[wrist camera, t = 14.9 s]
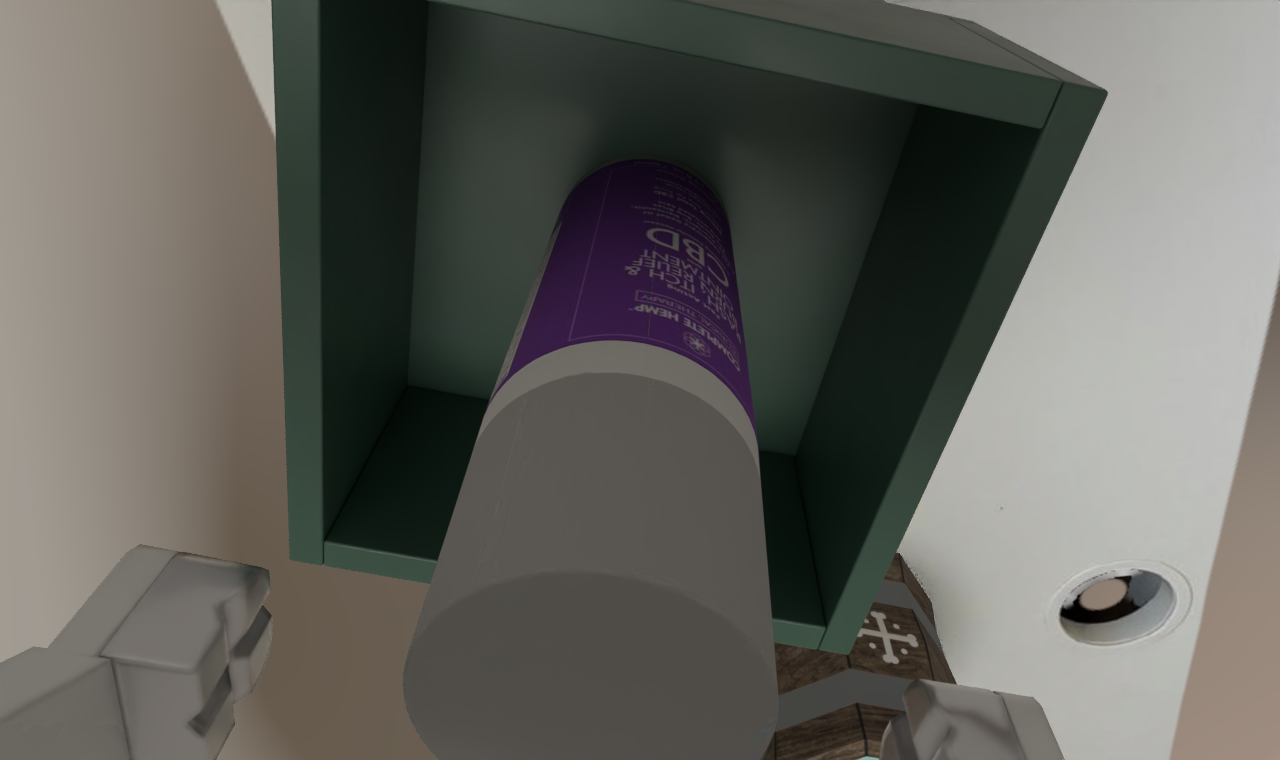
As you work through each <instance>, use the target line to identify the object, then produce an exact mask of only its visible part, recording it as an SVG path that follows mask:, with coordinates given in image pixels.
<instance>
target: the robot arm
mask: <svg viewBox="0 0 1280 760" xmlns="http://www.w3.org/2000/svg"><path fill="white" fill-rule="evenodd" d="M270 590H271V588H270V577H269V570H267V569H265V568H262V567H257V566H252V565H247V564H242V563H237V562H232V561H227V560H222V559H217V558H211V557H207V556H201V555H196V554H191V553H186V552H178V551H172V550H167V549H163V548H157V547H152V546H147V545H142V544H140V545H138V546H137V547H135V548H133V549H131V550H130V551H128V552H127V553H126V554H125V555H124V556H123V557H122V558H121V560H120V561H119V562H118V563H117V565H116V566H115V567H114V568H113V569H112V571H111V572H110V573H109V574H108V575H107V577H106V578H105V579H104V580H103V582H102V583H101V584H100V585H99V586H98V587H97V589H96V590H95V591H94V592H93V593H92V595H91V596H90V597H89V598H88V600H87V601H86V602H85V603H84V604H83V606H82V607H81V608H80V609H79V610H78V612H77V613H76V614H75V615H74V616H73V618H72V619H71V620H70V621H69V622H68V624H67V625H66V626H65V627H64V628H63V630H62V631H61V632H60V633H59V635H58V636H57V637H56V638H55V639H54V641H53V642H52V643H51V644H50V646H49V647H48V648H40V647H32V648H30V649H28V650H26V651H24V652H22V653H20V654H18V655H16V656H14V657H12V658H10V659H8V660H6V661H4V662H2V663H0V760H216V759H217V757H218V755H219V753H220V751H221V749H222V747H223V746H224V744H225V742H226V740H227V738H228V736H229V734H230V732H231V731H232V729H233V727H234V725H235V721H234V710H233V709H234V708H233V704H234V703H236V702H238V701H239V700H241V699H242V698H243V697H245V696H247V695H248V694H250V693H252V691H253V689H254V687H255V685H256V683H257V681H258V679H259V677H260V675H261V673H262V671H263V668H264V665H265V662H266V659H267V656H268V653H269V650H270V645H271V638H272V630H273V629H272V615H271V614H270V613H269V612H268V611H267V609H266V608H265V607H264V606H263V605H262V604H263V603H264V601H265V599H266V597H267V596H268V594H269V592H270ZM902 698H903V702H904V706H905V710H906V711H905V712H903V713H902V714H900V715H898V716H896V717H894V718H892V719H890V721H889V723H888V725H887V727H886V730H885V732H884V734H883V736H882V741H881V747H880V754H879V760H1065V759H1064V757H1063V755H1062V752H1061V750H1060V748H1059V745H1058V743H1057V741H1056V738H1055V736H1054V734H1053V732H1052V729H1051V727H1050V725H1049V722H1048V720H1047V718H1046V715H1045V713H1044V711H1043V708H1042V706H1041V705H1040V704H1039V703H1038V702H1037V701H1036V700H1035V699H1034V697H1028V696H1021V695H1015V694H1009V693H1003V692H997V691H990V690H987V689H981V688H975V687H968V686H962V685H956V684H950V683H943V682H937V681H931V680H924V679H918V678H917V679H916V680H915V681H913V682H912V683H910V684H909V686H908V688H907V689H906V691H905V693H904V695H903V697H902Z"/></svg>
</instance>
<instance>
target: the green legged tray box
mask: <svg viewBox="0 0 1280 760" xmlns="http://www.w3.org/2000/svg"><path fill="white" fill-rule="evenodd" d="M271 2H272V32H273V63H274V93H275V124H276V152H277V185H278V215H279V242H280V243H279V245H280V275H281V305H282V306H281V307H282V337H283V364H284V366H283V367H284V398H285V428H286V459H287V489H288V519H289V548H290V549H289V550H290V560H293V561H299V562H304V563H310V564H316V565H323V564H324V565H325V566H329V567H334V568H340V569H346V570H352V571H358V572H364V573H370V574H375V575H381V576H387V577H393V578H399V579H405V580H411V581H417V582H423V583H428V584H430V583H431V580H432V577H433V574H434V571H435V568H436V564H437V561H438V558H439V555H440V552H441V549H442V546H443V543H444V540H445V536H446V533H447V530H448V527H449V524H450V521H451V518H452V515H453V512H454V508H455V505H456V502H457V499H458V496H459V493H460V490H461V487H462V484H463V480H464V477H465V474H466V471H467V468H468V465H469V462H470V459H471V456H472V452H473V449H474V446H475V443H476V440H477V437H478V434H479V430H480V427H481V423H482V420H483V417H484V414H485V411H486V409H487V406H488V403H489V401H490V398H491V395H492V393H493V390H494V387H495V385H496V382H497V379H498V377H499V374H500V371H501V369H502V366H503V363H504V360H505V358H506V355H507V352H508V350H509V347H510V344H511V342H512V339H513V336H514V334H515V331H516V328H517V326H518V323H519V320H520V318H521V315H522V312H523V310H524V307H525V304H526V302H527V299H528V296H529V294H530V291H531V288H532V285H533V283H534V280H535V277H536V275H537V272H538V269H539V267H540V264H541V261H542V259H543V256H544V253H545V251H546V248H547V245H548V243H549V240H550V237H551V235H552V232H553V229H554V227H555V224H556V221H557V219H558V216H559V213H560V211H561V209H562V206H563V204H564V202H565V200H566V198H567V196H568V195H569V193H570V191H571V190H572V189H573V187H574V186H575V185H576V183H577V182H578V181H579V180H580V179H581V178H582V177H583V176H584V175H586V174H587V173H588V172H589V171H591V170H592V169H594V168H595V167H597V166H599V165H600V164H602V163H604V162H607V161H609V160H611V159H614V158H618V157H621V156H626V155H633V154H652V155H659V156H664V157H667V158H671V159H673V160H676V161H679V162H681V163H683V164H685V165H687V166H688V167H690V168H692V169H693V170H695V171H696V172H697V173H698V174H700V175H701V176H702V177H703V178H704V179H705V180H706V181H707V182H708V183H709V184H710V185H711V186H712V188H713V189H714V190H715V192H716V193H717V195H718V196H719V198H720V200H721V202H722V204H723V206H724V209H725V211H726V214H727V218H728V222H729V227H730V233H731V240H732V247H733V255H734V263H735V270H736V278H737V286H738V293H739V301H740V309H741V316H742V324H743V332H744V340H745V347H746V355H747V363H748V370H749V378H750V386H751V393H752V401H753V409H754V416H755V424H756V432H757V439H758V447H759V467H760V479H761V491H762V503H763V515H764V527H765V539H766V551H767V564H768V576H769V588H770V600H771V612H772V624H773V637H774V642H775V643H781V644H787V645H793V646H798V647H804V648H810V649H817V648H819V650H822V651H828V652H834V653H840V654H846V655H847V654H849V653H850V651H851V649H852V647H853V645H854V642H855V640H856V638H857V636H858V634H859V632H860V629H861V627H862V625H863V623H864V621H865V619H866V616H867V614H868V612H869V610H870V608H871V606H872V603H873V601H874V599H875V597H876V595H877V593H878V590H879V588H880V586H881V584H882V582H883V580H884V577H885V575H886V573H887V571H888V569H889V567H890V564H891V562H892V560H893V558H894V556H895V554H896V552H897V549H898V547H899V545H900V543H901V541H902V539H903V536H904V534H905V532H906V530H907V528H908V526H909V523H910V521H911V519H912V517H913V515H914V513H915V510H916V508H917V506H918V504H919V502H920V500H921V497H922V495H923V493H924V491H925V489H926V487H927V484H928V482H929V480H930V478H931V476H932V474H933V471H934V469H935V467H936V465H937V463H938V461H939V458H940V456H941V454H942V452H943V450H944V448H945V445H946V443H947V441H948V439H949V437H950V435H951V433H952V430H953V428H954V426H955V424H956V422H957V420H958V417H959V415H960V413H961V411H962V409H963V407H964V404H965V402H966V400H967V398H968V396H969V394H970V391H971V389H972V387H973V385H974V383H975V381H976V378H977V376H978V374H979V372H980V370H981V368H982V365H983V363H984V361H985V359H986V357H987V355H988V352H989V350H990V348H991V346H992V344H993V342H994V339H995V337H996V335H997V333H998V331H999V329H1000V327H1001V324H1002V322H1003V320H1004V318H1005V316H1006V314H1007V311H1008V309H1009V307H1010V305H1011V303H1012V301H1013V298H1014V296H1015V294H1016V292H1017V290H1018V288H1019V285H1020V283H1021V281H1022V279H1023V277H1024V275H1025V272H1026V270H1027V268H1028V266H1029V264H1030V262H1031V259H1032V257H1033V255H1034V253H1035V251H1036V249H1037V246H1038V244H1039V242H1040V240H1041V238H1042V236H1043V233H1044V231H1045V229H1046V227H1047V225H1048V223H1049V220H1050V218H1051V216H1052V214H1053V212H1054V210H1055V208H1056V205H1057V203H1058V201H1059V199H1060V197H1061V195H1062V192H1063V190H1064V188H1065V186H1066V184H1067V182H1068V179H1069V177H1070V175H1071V173H1072V171H1073V169H1074V166H1075V164H1076V162H1077V160H1078V158H1079V156H1080V153H1081V151H1082V149H1083V147H1084V145H1085V143H1086V140H1087V138H1088V136H1089V134H1090V132H1091V130H1092V127H1093V125H1094V123H1095V121H1096V119H1097V117H1098V114H1099V112H1100V110H1101V108H1102V106H1103V104H1104V101H1105V99H1106V97H1107V94H1108V92H1107V91H1106V90H1105V89H1103V88H1101V87H1099V86H1097V85H1095V84H1093V83H1091V82H1090V81H1088V80H1086V79H1084V78H1082V77H1080V76H1078V75H1076V74H1074V73H1072V72H1070V71H1068V70H1066V69H1064V68H1062V67H1060V66H1058V65H1057V64H1055V63H1053V62H1051V61H1049V60H1047V59H1045V58H1043V57H1041V56H1039V55H1037V54H1035V53H1033V52H1031V51H1029V50H1027V49H1025V48H1024V47H1022V46H1020V45H1018V44H1016V43H1014V42H1012V41H1010V40H1008V39H1006V38H1004V37H1002V36H1000V35H998V34H996V33H994V32H992V31H991V30H989V29H987V28H985V27H983V26H981V25H978V24H977V23H975V22H973V21H969V20H965V19H960V18H956V17H951V16H946V15H942V14H937V13H932V12H928V11H923V10H919V9H914V8H909V7H905V6H900V5H895V4H891V3H887V2H886V1H884V0H271Z"/></svg>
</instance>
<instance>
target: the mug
mask: <svg viewBox="0 0 1280 760" xmlns="http://www.w3.org/2000/svg"><path fill="white" fill-rule="evenodd" d="M774 649H775V661H776V673H777V685H778V698H779V711H778V719H777V723H776V727H775V731H774V733H773V736H772V738H771V740H770V743H769V745H768V747H767V749H766V750H765V752H764V753H763V755H762V756H761V758H760V759H759V760H879V754H880V747H881V741H882V736H883V734H884V732H885V730H886V727H887V725H888V723H889V721H890V719H892V718H894V717H896V716H898V715H900V714H902V713H903V712H905V711H906V710H905V706H904V702H903V698H902V697H903V695H904V693H905V691H906V689H907V688H908V686H909V684H910V683H912V682H913V681H915V680H916V679H917V678H918V679H924V680H931V681H937V682H943V683H950V684H956V682H955V679H954V677H953V675H952V672H951V670H950V668H949V666H948V663H947V661H946V659H945V656H944V653H943V650H942V647H941V644H940V641H939V638H938V635H937V632H936V627H935V621H934V615H933V608H932V603H931V601H930V600H929V598H928V597H927V595H926V594H925V592H924V591H923V589H922V587H921V586H920V584H919V583H918V581H917V580H916V578H915V577H914V575H913V574H912V572H911V571H910V569H909V567H908V566H907V564H906V563H905V561H904V560H903V558H902V557H901V555H900V554H897V553H896V554H895V556H894V558H893V560H892V562H891V564H890V567H889V569H888V571H887V573H886V575H885V577H884V580H883V582H882V584H881V586H880V588H879V590H878V593H877V595H876V597H875V599H874V601H873V603H872V606H871V608H870V610H869V612H868V614H867V616H866V619H865V621H864V623H863V625H862V627H861V629H860V632H859V634H858V636H857V638H856V640H855V642H854V645H853V647H852V649H851V651H850V653H849V654H847V655H846V654H840V653H834V652H828V651H822V650H819V648H817V649H810V648H804V647H798V646H793V645H787V644H781V643H775V642H774ZM956 685H957V684H956Z"/></svg>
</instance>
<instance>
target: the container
mask: <svg viewBox="0 0 1280 760" xmlns="http://www.w3.org/2000/svg"><path fill="white" fill-rule="evenodd" d="M403 693H404V699H405V704H406V708H407V711H408V714H409V716H410V719H411V721H412V723H413V725H414V727H415V729H416V731H417V732H418V734H419V736H420V738H421V739H422V740H423V742H424V743H425V744H426V745H427V747H428V748H429V749H430V751H431V752H432V753H433V754H434V755H435V756H436V757H437V758H438V759H439V760H759V759H760V758H761V756H762V755H763V753H764V752H765V750H766V749H767V747H768V745H769V743H770V740H771V738H772V736H773V733H774V731H775V727H776V723H777V719H778V711H779V698H778V685H777V673H776V661H775V649H774V637H773V624H772V612H771V600H770V588H769V576H768V564H767V551H766V539H765V527H764V515H763V503H762V491H761V479H760V467H759V447H758V439H757V432H756V424H755V416H754V409H753V401H752V393H751V386H750V378H749V370H748V363H747V355H746V347H745V340H744V332H743V324H742V316H741V309H740V301H739V293H738V286H737V278H736V270H735V263H734V255H733V247H732V240H731V233H730V227H729V222H728V218H727V214H726V211H725V209H724V206H723V204H722V202H721V200H720V198H719V196H718V195H717V193H716V192H715V190H714V189H713V188H712V186H711V185H710V184H709V183H708V182H707V181H706V180H705V179H704V178H703V177H702V176H701V175H700V174H698V173H697V172H696V171H695V170H693V169H692V168H690V167H688V166H687V165H685V164H683V163H681V162H679V161H676V160H673V159H671V158H667V157H664V156H659V155H652V154H633V155H626V156H621V157H618V158H614V159H611V160H609V161H607V162H604V163H602V164H600V165H599V166H597V167H595V168H594V169H592V170H591V171H589V172H588V173H587V174H586V175H584V176H583V177H582V178H581V179H580V180H579V181H578V182H577V183H576V185H575V186H574V187H573V189H572V190H571V191H570V193H569V195H568V196H567V198H566V200H565V202H564V204H563V206H562V209H561V211H560V213H559V216H558V219H557V221H556V224H555V227H554V229H553V232H552V235H551V237H550V240H549V243H548V245H547V248H546V251H545V253H544V256H543V259H542V261H541V264H540V267H539V269H538V272H537V275H536V277H535V280H534V283H533V285H532V288H531V291H530V294H529V296H528V299H527V302H526V304H525V307H524V310H523V312H522V315H521V318H520V320H519V323H518V326H517V328H516V331H515V334H514V336H513V339H512V342H511V344H510V347H509V350H508V352H507V355H506V358H505V360H504V363H503V366H502V369H501V371H500V374H499V377H498V379H497V382H496V385H495V387H494V390H493V393H492V395H491V398H490V401H489V403H488V406H487V409H486V411H485V414H484V417H483V420H482V423H481V427H480V430H479V434H478V437H477V440H476V443H475V446H474V449H473V452H472V456H471V459H470V462H469V465H468V468H467V471H466V474H465V477H464V480H463V484H462V487H461V490H460V493H459V496H458V499H457V502H456V505H455V508H454V512H453V515H452V518H451V521H450V524H449V527H448V530H447V533H446V536H445V540H444V543H443V546H442V549H441V552H440V555H439V558H438V561H437V564H436V568H435V571H434V574H433V577H432V580H431V583H430V586H429V589H428V592H427V596H426V599H425V602H424V605H423V608H422V611H421V614H420V618H419V621H418V624H417V627H416V630H415V633H414V636H413V639H412V642H411V646H410V649H409V652H408V655H407V658H406V662H405V666H404V672H403Z"/></svg>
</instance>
